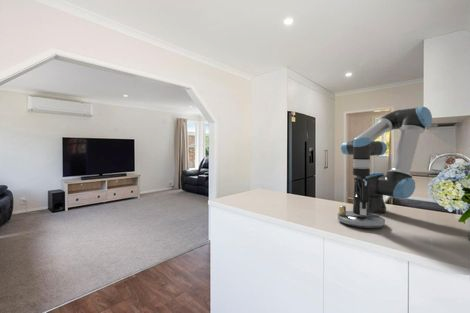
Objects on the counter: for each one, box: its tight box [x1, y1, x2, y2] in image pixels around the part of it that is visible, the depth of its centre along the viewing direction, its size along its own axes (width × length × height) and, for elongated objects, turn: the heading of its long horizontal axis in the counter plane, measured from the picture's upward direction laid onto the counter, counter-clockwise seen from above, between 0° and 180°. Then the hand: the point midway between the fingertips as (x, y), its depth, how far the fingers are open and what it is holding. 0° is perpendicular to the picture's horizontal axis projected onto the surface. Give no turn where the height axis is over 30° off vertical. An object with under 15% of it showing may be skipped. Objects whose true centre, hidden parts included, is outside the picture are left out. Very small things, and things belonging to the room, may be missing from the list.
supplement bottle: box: [352, 190, 369, 215], centre depth 114 cm, size 7×7×12 cm
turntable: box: [337, 205, 386, 229], centre depth 114 cm, size 21×21×7 cm
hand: (360, 212), depth 114 cm, fingers closed on supplement bottle, 7 cm apart
